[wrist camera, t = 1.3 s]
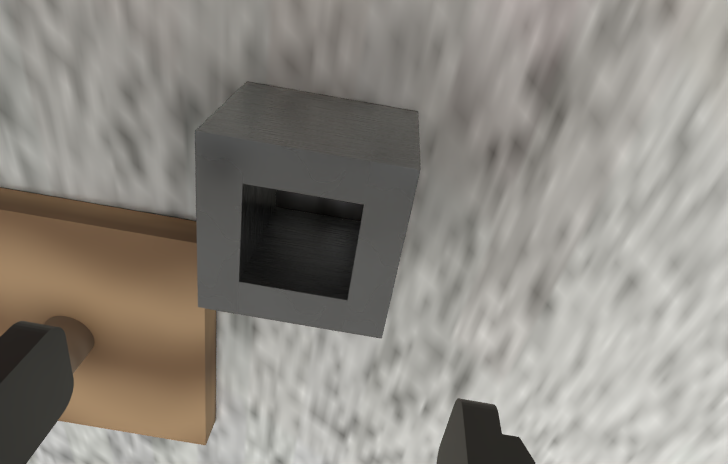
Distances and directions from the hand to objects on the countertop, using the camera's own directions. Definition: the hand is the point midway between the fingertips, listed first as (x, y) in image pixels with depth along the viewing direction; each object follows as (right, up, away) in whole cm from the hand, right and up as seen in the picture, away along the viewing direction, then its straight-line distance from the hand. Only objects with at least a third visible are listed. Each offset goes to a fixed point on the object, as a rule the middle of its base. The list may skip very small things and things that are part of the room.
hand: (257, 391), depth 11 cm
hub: (+1, +5, +9) cm, 10 cm away
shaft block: (-11, -1, +13) cm, 17 cm away
